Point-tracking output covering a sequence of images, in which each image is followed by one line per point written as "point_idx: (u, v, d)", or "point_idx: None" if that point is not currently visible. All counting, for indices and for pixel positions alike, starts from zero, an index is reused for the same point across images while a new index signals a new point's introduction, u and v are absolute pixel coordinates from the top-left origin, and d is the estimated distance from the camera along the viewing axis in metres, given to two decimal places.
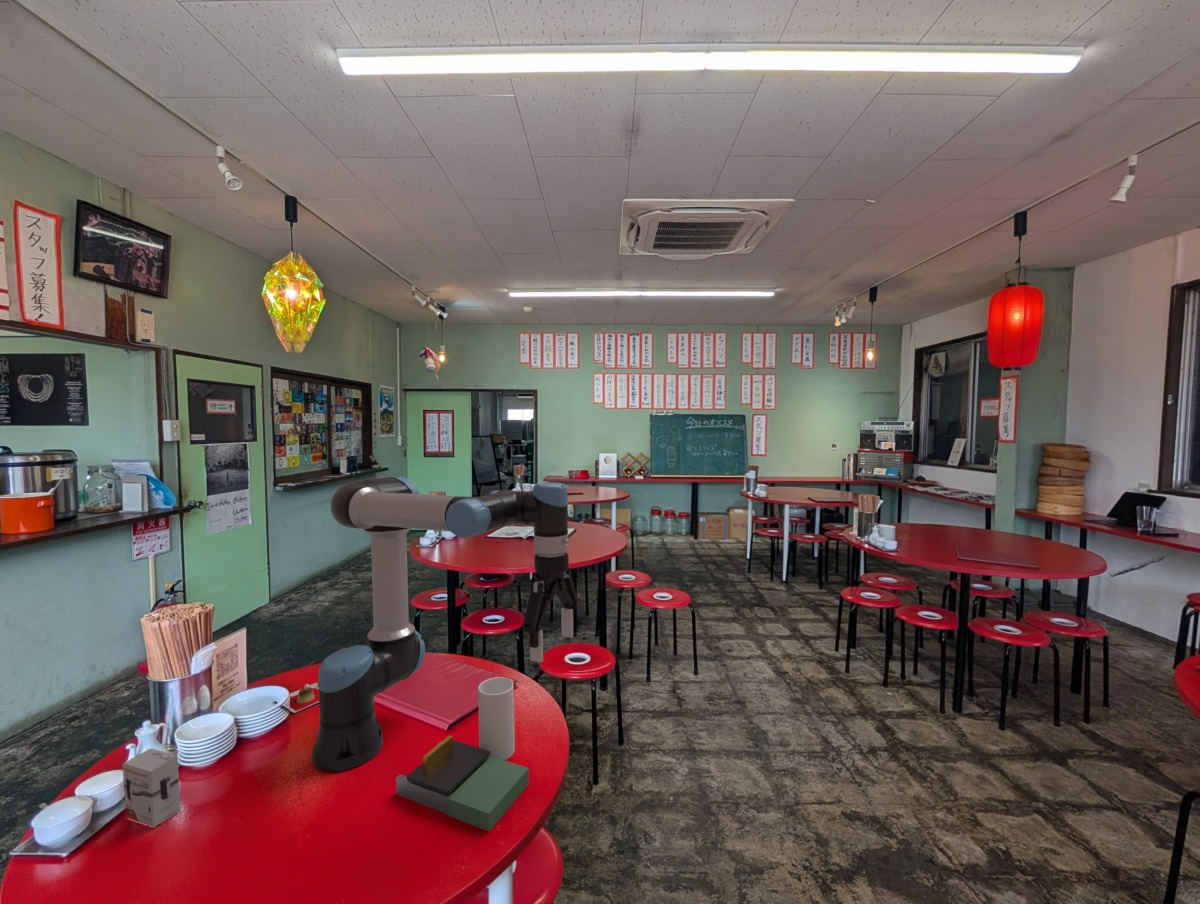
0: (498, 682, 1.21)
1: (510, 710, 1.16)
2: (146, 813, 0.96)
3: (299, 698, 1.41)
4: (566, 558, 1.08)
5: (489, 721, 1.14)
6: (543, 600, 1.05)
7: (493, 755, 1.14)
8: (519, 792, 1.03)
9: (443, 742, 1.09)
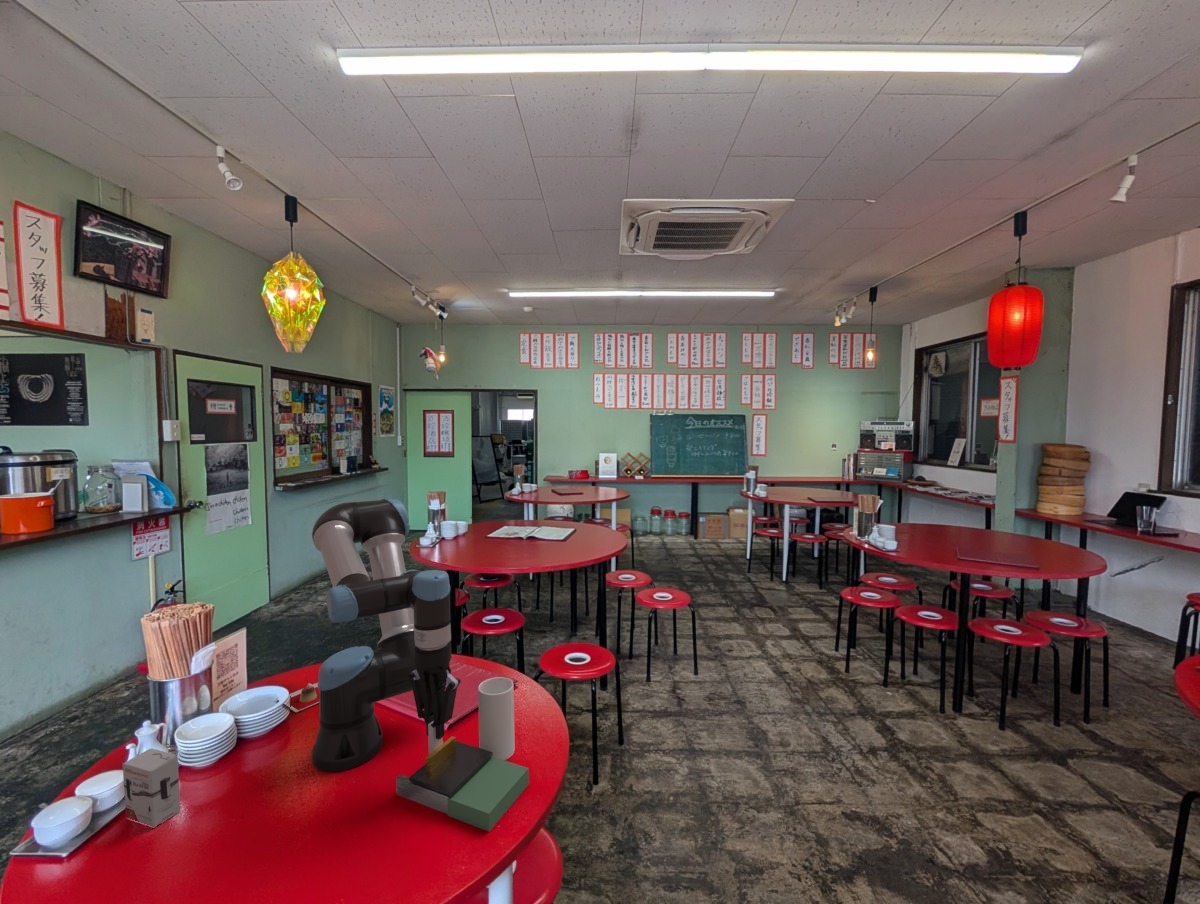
0: (498, 682, 1.21)
1: (510, 710, 1.16)
2: (146, 813, 0.96)
3: (301, 697, 1.42)
4: (420, 654, 1.04)
5: (489, 721, 1.14)
6: None
7: (493, 755, 1.14)
8: (519, 792, 1.03)
9: (446, 743, 1.09)
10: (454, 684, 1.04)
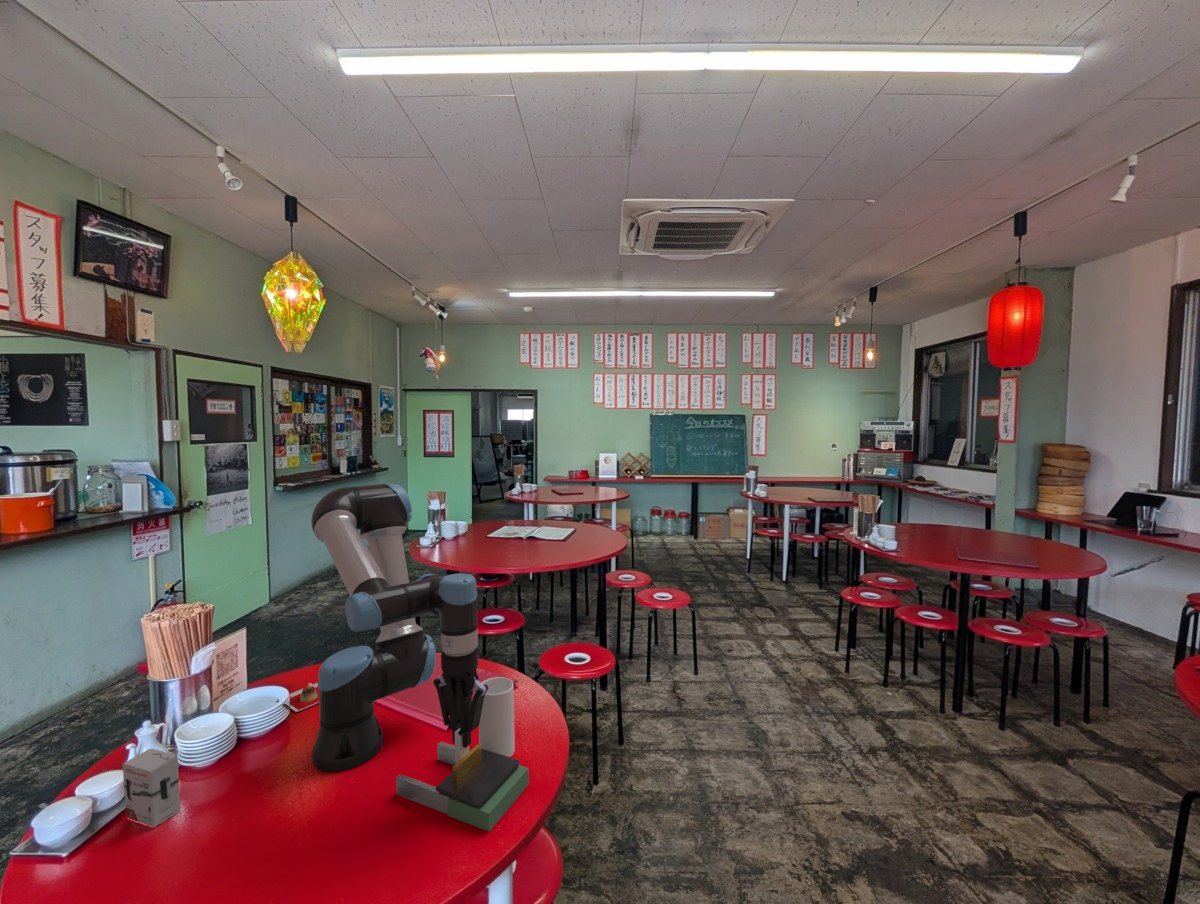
0: (498, 682, 1.21)
1: (510, 710, 1.16)
2: (146, 813, 0.96)
3: (302, 697, 1.42)
4: (447, 661, 1.01)
5: (489, 721, 1.14)
6: None
7: None
8: (519, 792, 1.03)
9: (472, 751, 1.06)
10: (482, 691, 1.01)
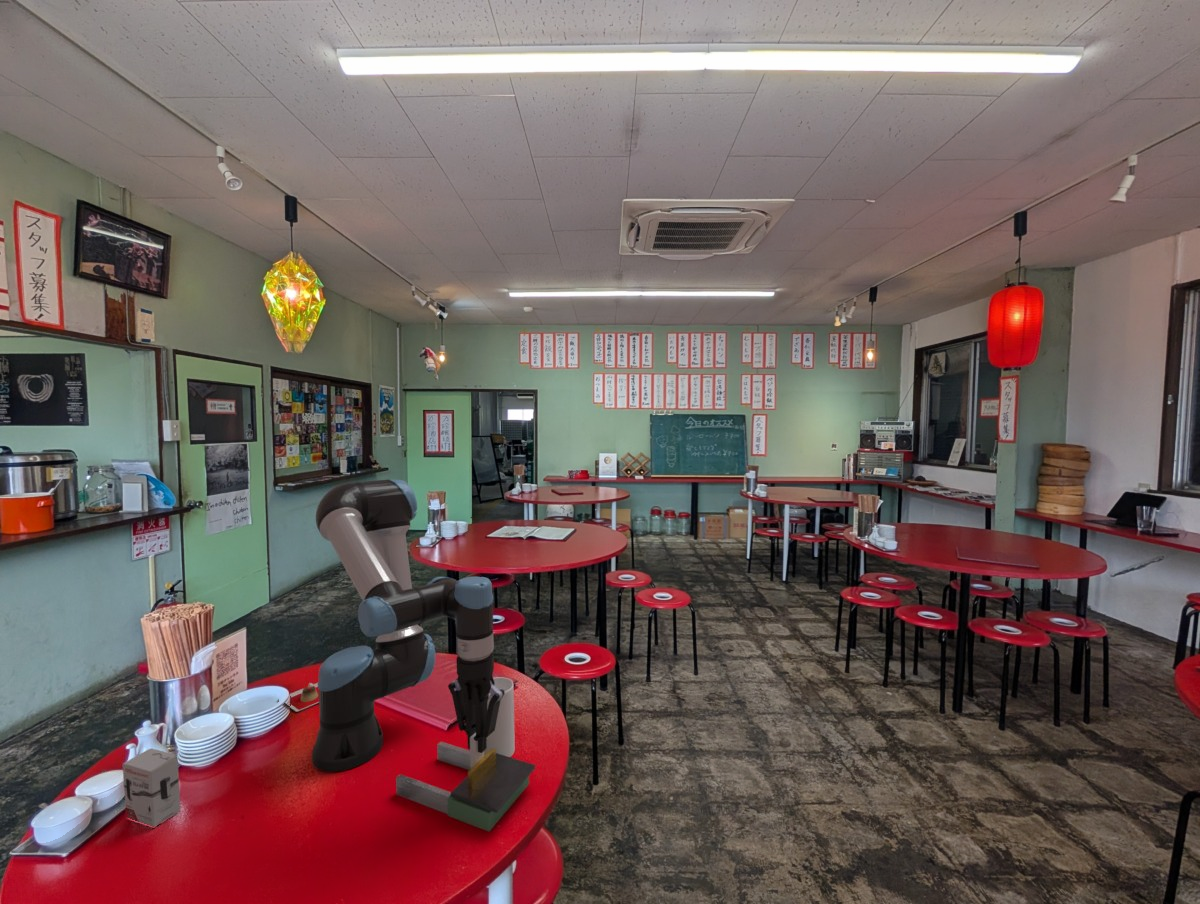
0: (498, 682, 1.21)
1: (510, 710, 1.16)
2: (146, 813, 0.96)
3: (302, 697, 1.42)
4: (463, 665, 0.99)
5: None
6: None
7: None
8: (519, 792, 1.03)
9: (487, 755, 1.04)
10: (499, 696, 1.00)
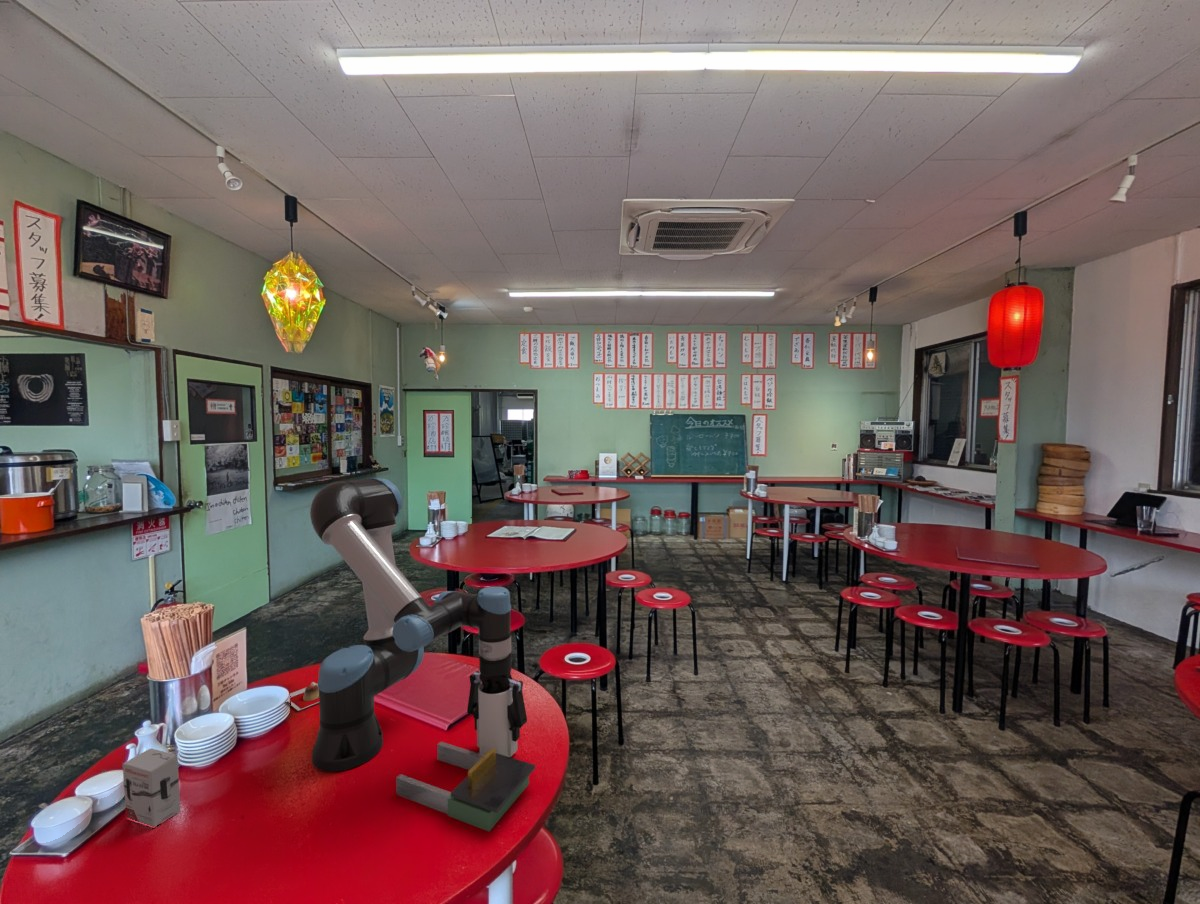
0: None
1: None
2: (146, 813, 0.96)
3: (305, 696, 1.42)
4: (485, 664, 1.14)
5: (489, 721, 1.14)
6: None
7: None
8: (519, 792, 1.03)
9: (487, 755, 1.04)
10: (518, 685, 1.14)
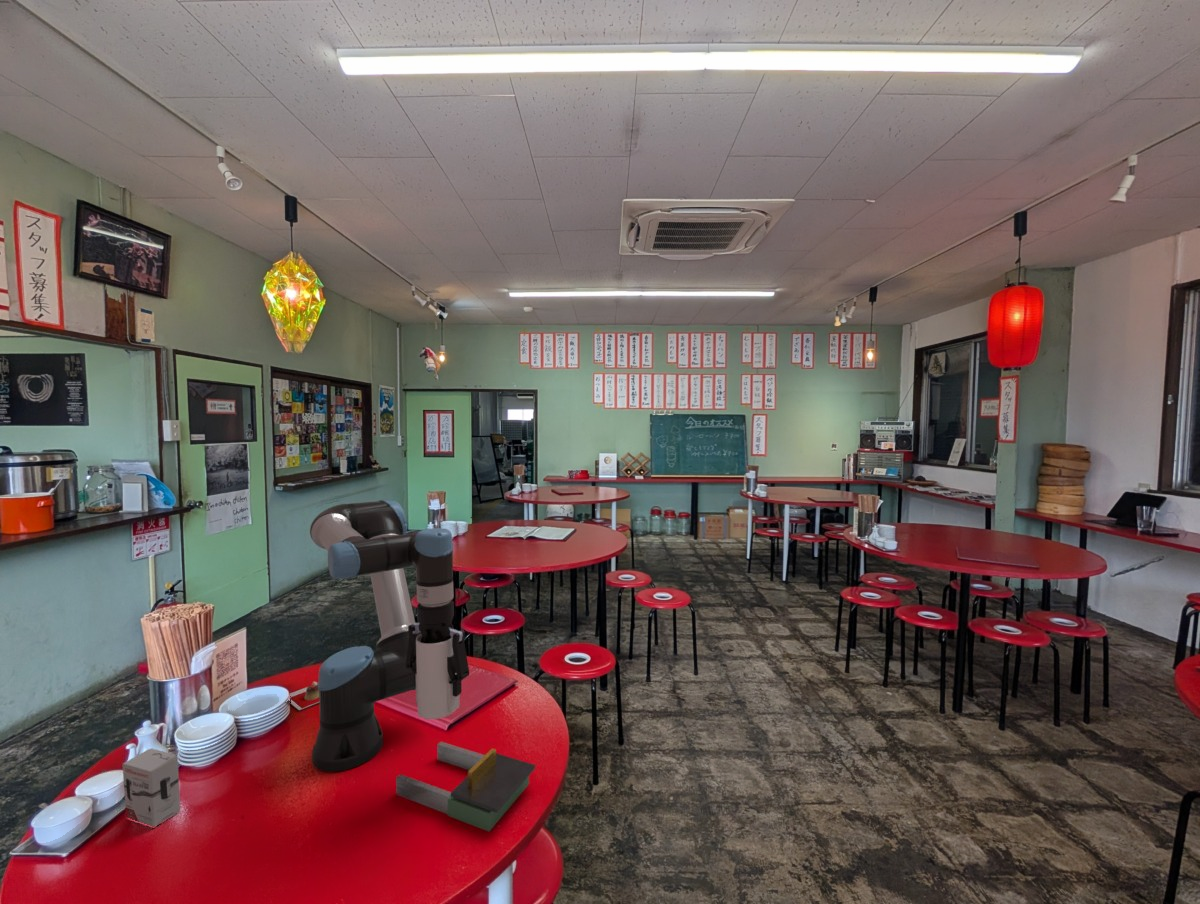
0: None
1: None
2: (146, 813, 0.96)
3: (306, 695, 1.43)
4: (423, 611, 1.03)
5: (426, 673, 1.03)
6: None
7: (431, 711, 1.03)
8: (519, 792, 1.03)
9: (487, 755, 1.04)
10: (458, 634, 1.04)
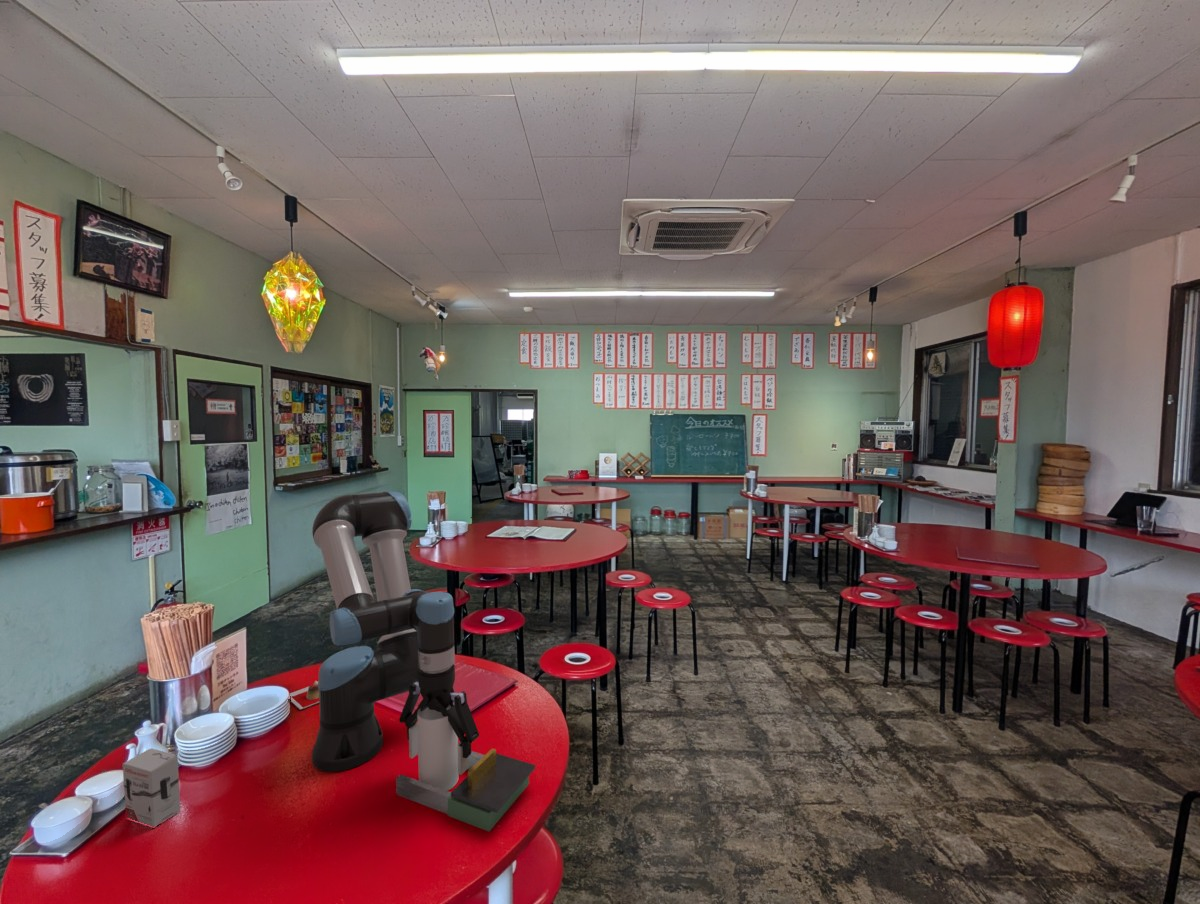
0: None
1: (452, 737, 1.06)
2: (146, 813, 0.96)
3: (308, 694, 1.43)
4: (424, 678, 1.04)
5: (427, 749, 1.04)
6: None
7: None
8: (519, 792, 1.03)
9: (487, 755, 1.04)
10: (459, 696, 1.04)
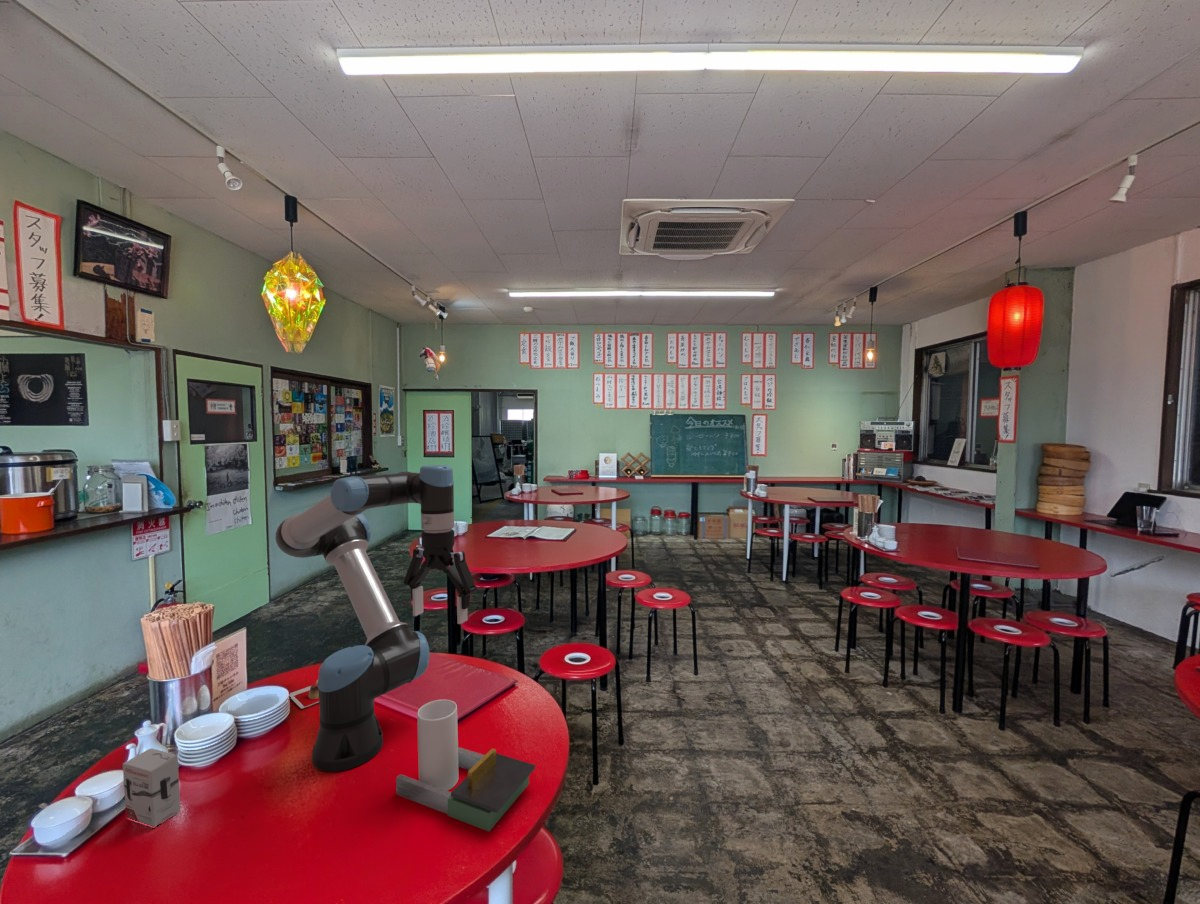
0: (441, 705, 1.11)
1: (452, 737, 1.06)
2: (146, 812, 0.96)
3: (310, 694, 1.43)
4: (426, 536, 1.15)
5: (427, 749, 1.04)
6: None
7: None
8: (519, 792, 1.03)
9: (487, 755, 1.04)
10: (458, 553, 1.15)
